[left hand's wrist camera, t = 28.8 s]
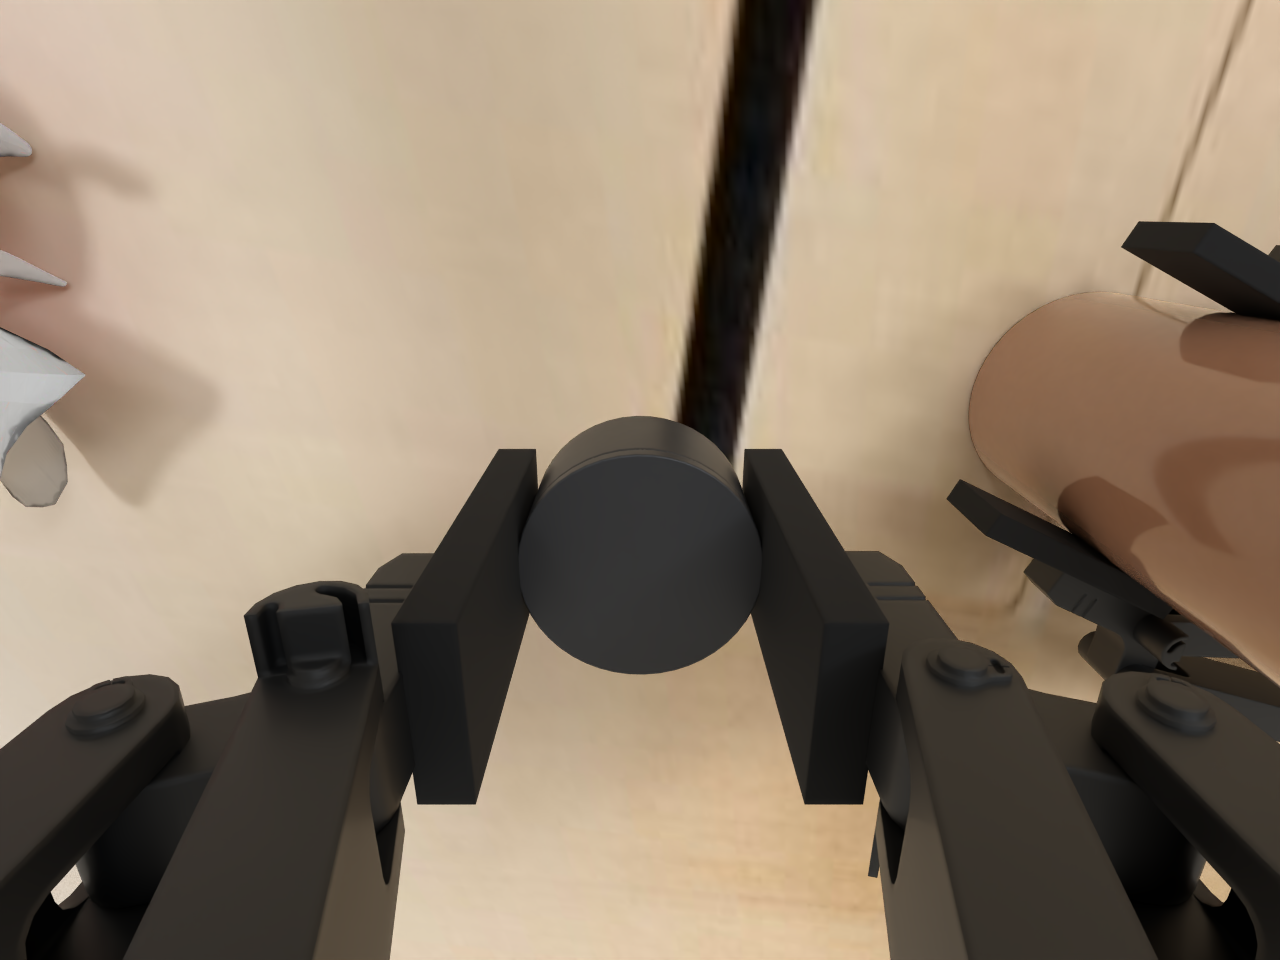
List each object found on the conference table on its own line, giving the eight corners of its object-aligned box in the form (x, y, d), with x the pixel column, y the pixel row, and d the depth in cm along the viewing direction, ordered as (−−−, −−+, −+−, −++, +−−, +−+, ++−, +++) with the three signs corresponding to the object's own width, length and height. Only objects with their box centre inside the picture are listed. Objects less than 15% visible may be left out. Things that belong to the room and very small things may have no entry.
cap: (713, 622, 15) (726, 694, 13) (520, 584, 15) (498, 651, 13) (769, 440, 14) (795, 484, 12) (557, 393, 14) (540, 429, 11)
